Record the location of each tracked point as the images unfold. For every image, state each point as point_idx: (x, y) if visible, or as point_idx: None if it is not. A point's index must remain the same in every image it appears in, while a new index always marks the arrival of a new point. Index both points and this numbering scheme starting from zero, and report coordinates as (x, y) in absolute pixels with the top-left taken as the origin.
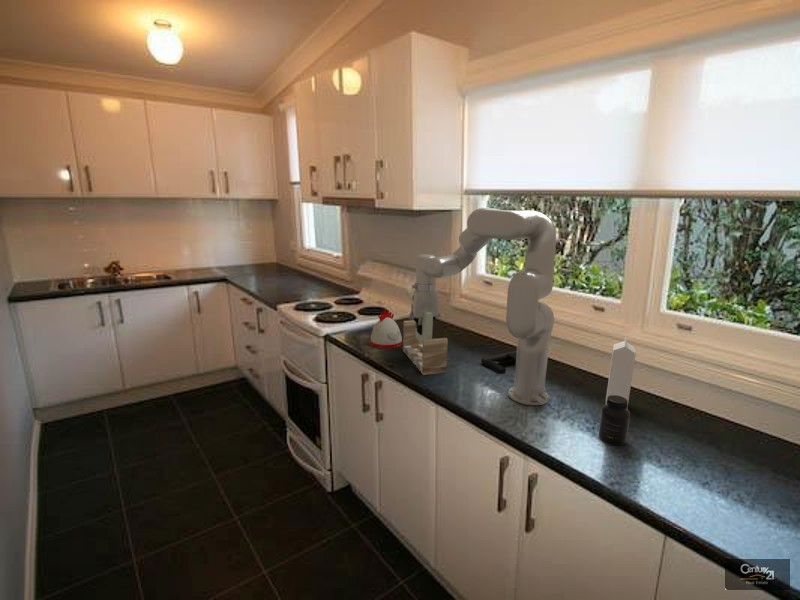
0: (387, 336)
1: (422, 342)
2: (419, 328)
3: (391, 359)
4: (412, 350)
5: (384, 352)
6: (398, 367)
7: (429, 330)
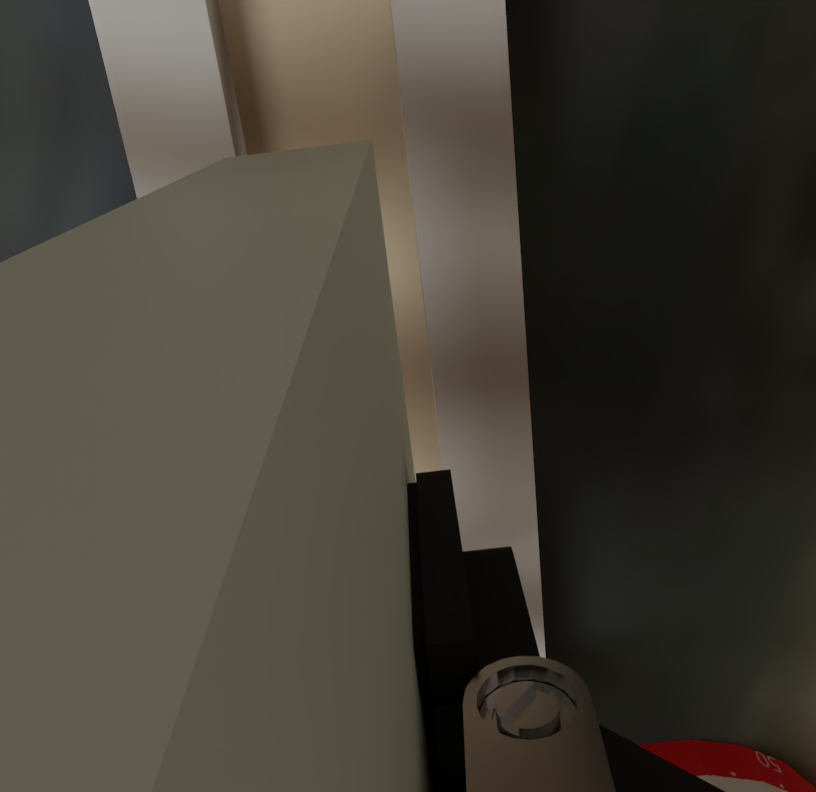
0: None
1: (397, 353)
2: (485, 606)
3: (756, 427)
4: (475, 539)
5: (766, 638)
6: (755, 141)
7: (205, 205)
